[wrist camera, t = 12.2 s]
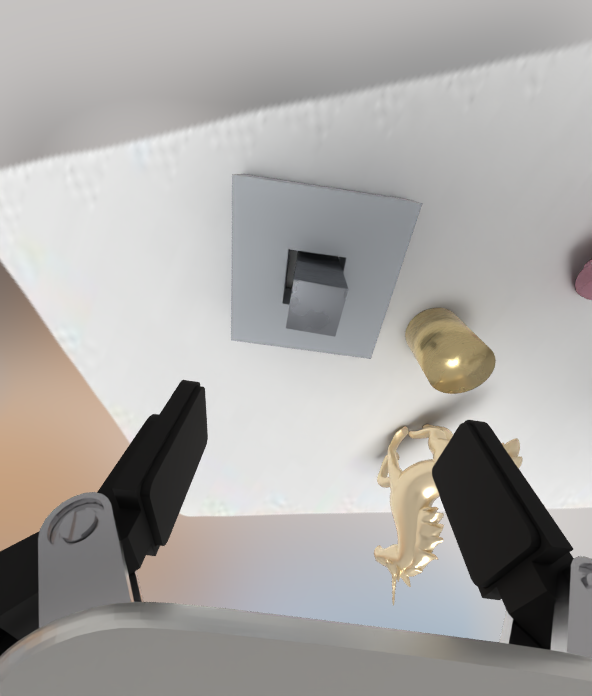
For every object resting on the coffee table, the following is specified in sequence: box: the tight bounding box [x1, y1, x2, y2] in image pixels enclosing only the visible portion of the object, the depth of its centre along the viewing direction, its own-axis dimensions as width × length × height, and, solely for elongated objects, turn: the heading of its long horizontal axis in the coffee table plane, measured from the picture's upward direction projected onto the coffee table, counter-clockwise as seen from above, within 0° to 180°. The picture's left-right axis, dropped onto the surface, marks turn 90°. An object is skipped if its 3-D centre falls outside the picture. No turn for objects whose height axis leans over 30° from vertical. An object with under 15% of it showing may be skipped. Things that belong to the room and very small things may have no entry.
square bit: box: [286, 251, 349, 337], centre depth 23 cm, size 4×4×10 cm
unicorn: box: [374, 424, 522, 605], centre depth 32 cm, size 20×4×17 cm, turn 141°
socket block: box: [231, 174, 422, 359], centre depth 26 cm, size 14×14×4 cm
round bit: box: [405, 308, 495, 394], centre depth 28 cm, size 6×6×7 cm
